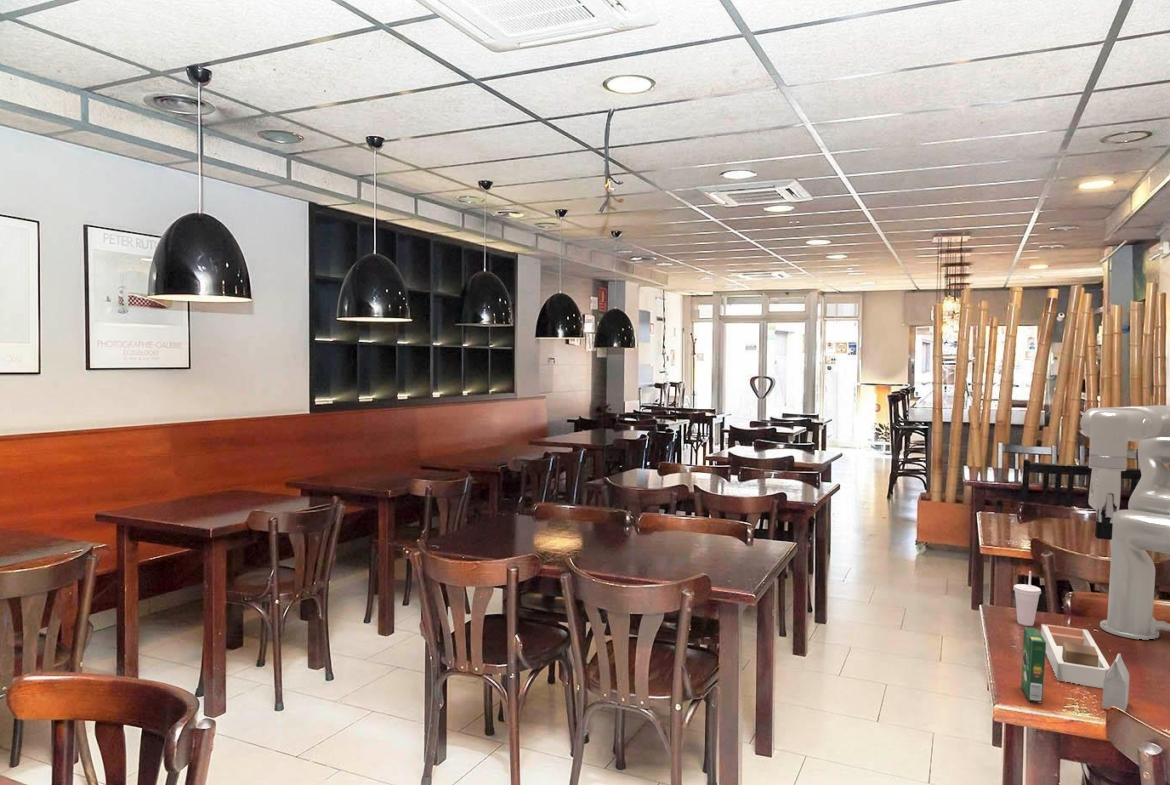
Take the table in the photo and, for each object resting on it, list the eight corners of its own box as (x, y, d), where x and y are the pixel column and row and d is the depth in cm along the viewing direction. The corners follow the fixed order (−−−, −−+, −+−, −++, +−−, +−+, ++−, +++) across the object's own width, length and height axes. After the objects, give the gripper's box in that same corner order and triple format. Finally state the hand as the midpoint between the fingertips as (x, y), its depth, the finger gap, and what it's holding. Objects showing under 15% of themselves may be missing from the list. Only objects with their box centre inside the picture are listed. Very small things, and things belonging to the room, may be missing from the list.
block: (1093, 664, 174) (1094, 646, 174) (1097, 674, 169) (1098, 655, 169) (1062, 659, 177) (1062, 641, 177) (1065, 668, 171) (1065, 650, 171)
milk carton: (1127, 703, 160) (1130, 655, 160) (1124, 714, 155) (1127, 664, 155) (1106, 698, 163) (1109, 650, 162) (1102, 709, 158) (1104, 660, 157)
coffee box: (1043, 704, 159) (1047, 641, 158) (1027, 702, 160) (1030, 639, 159) (1035, 689, 166) (1038, 628, 166) (1020, 686, 167) (1023, 626, 167)
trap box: (1086, 646, 193) (1087, 629, 192) (1111, 689, 167) (1112, 671, 167) (1040, 639, 196) (1041, 623, 196) (1057, 681, 171) (1058, 663, 171)
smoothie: (1044, 628, 205) (1047, 575, 204) (1019, 627, 205) (1022, 574, 204) (1031, 619, 211) (1033, 568, 211) (1007, 619, 212) (1009, 567, 211)
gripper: (1083, 458, 197) (1079, 530, 198) (1095, 465, 183) (1090, 543, 184) (1119, 460, 194) (1114, 534, 195) (1133, 467, 180) (1129, 547, 181)
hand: (1103, 538), depth 189 cm, fingers closed
